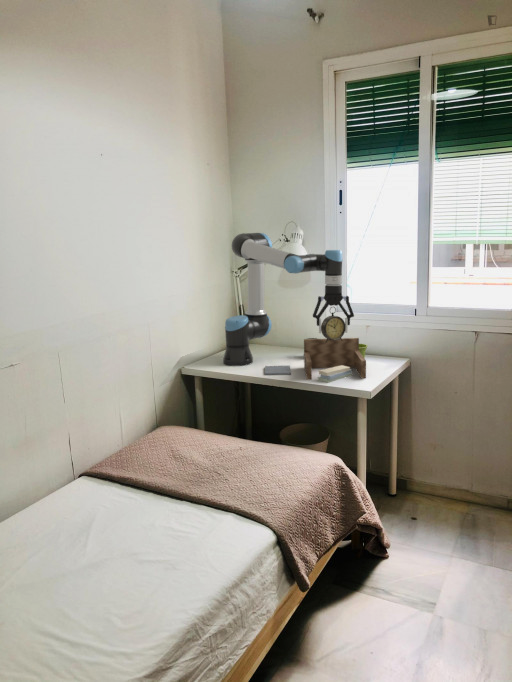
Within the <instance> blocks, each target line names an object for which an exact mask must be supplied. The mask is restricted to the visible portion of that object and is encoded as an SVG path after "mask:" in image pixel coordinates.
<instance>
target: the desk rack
mask: <svg viewBox="0 0 512 682" xmlns="http://www.w3.org/2000/svg"><path fill="white" fill-rule="evenodd" d="M341 339H342V341H341ZM341 339H338V340H330V339H328V341H327V343H325V342H326V340H327V338H317V339H308V338H304V339H303V357H304V358H303V365H304V366H303V367H304V372H305V376H306V380H312V379H313V377H312V376H313V375H312V374H313V372H312V370H313V369H328V368H332V367H336V366H341V365H343V366H347V367H350V368H354V369H355V371H356V372H357V373H359V374H358V375H359V377H360V378H361V379H367V359H366V358H364V357H363V356H362V354H361V353H360V352H359V344H360V337H341Z"/></svg>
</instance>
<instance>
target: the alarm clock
mask: <svg viewBox="0 0 512 682" xmlns="http://www.w3.org/2000/svg"><path fill="white" fill-rule="evenodd" d="M333 308H334V312H331V311H329V313H330V314H331V315H328V316H327V317H325V318H324V319H323V321H321V334H322V335H323V337H324V339H327V340H326V342H325V343H327V341H328V339H330V340H338V339H341V338H343V336H344V334H345V333H346V332H345V319H344V318H342V317H340V316H338V315H335V313H336V311H337V309H336V307H335V306H330V308H329V310H331V309H333ZM341 341H342V339H341Z"/></svg>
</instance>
